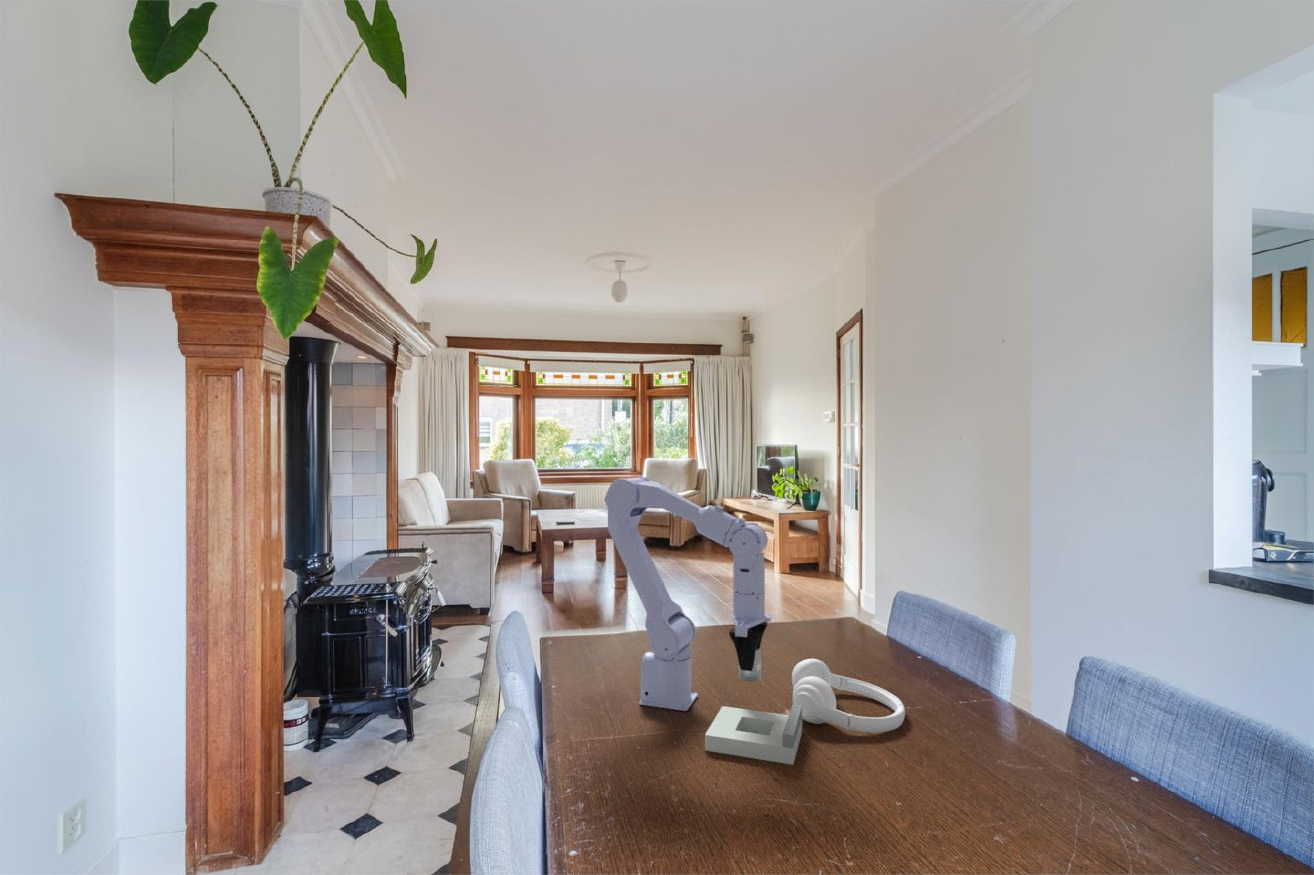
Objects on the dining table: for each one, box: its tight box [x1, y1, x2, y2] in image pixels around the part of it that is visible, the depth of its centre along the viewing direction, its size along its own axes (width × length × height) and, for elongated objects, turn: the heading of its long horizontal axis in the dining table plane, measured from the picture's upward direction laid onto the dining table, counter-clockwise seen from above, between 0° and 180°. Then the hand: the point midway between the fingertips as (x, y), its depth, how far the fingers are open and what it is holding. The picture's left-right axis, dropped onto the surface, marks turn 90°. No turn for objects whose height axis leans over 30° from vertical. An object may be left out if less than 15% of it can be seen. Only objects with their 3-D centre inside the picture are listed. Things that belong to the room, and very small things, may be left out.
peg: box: [738, 648, 762, 682], centre depth 116 cm, size 4×4×5 cm
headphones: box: [791, 658, 906, 734], centre depth 117 cm, size 20×8×20 cm
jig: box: [704, 703, 803, 766], centre depth 105 cm, size 14×12×4 cm
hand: (748, 665), depth 116 cm, fingers closed on peg, 4 cm apart
